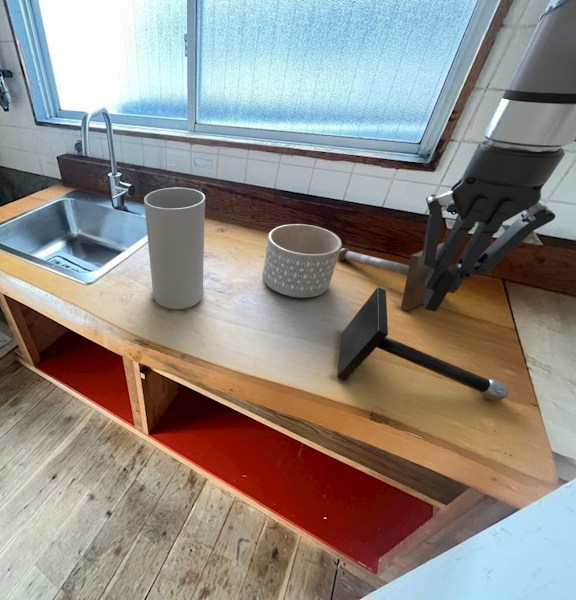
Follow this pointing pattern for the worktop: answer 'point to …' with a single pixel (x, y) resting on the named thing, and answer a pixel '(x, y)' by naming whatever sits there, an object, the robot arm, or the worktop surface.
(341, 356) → the black holder
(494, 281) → the worktop surface
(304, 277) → the planter
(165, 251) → the cylinder vase
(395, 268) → the paper towel stand
